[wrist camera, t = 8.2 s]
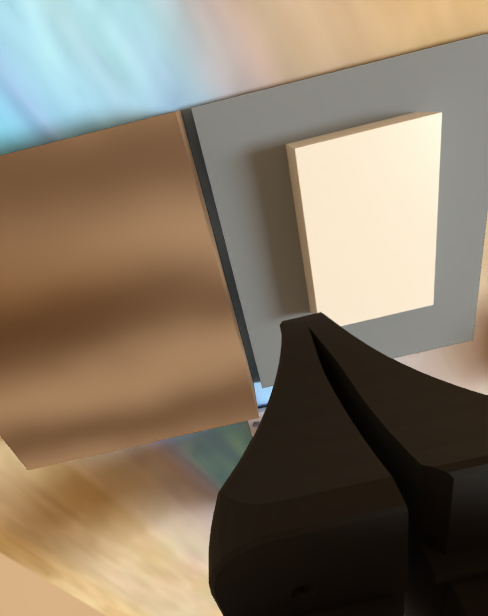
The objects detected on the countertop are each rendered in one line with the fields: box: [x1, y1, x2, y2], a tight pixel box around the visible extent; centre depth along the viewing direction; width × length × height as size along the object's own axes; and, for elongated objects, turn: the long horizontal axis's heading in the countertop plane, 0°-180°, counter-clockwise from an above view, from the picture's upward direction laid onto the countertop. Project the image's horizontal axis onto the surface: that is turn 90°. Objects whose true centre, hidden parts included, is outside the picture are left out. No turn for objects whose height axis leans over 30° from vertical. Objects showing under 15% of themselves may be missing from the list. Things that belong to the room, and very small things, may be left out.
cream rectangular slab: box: [286, 112, 442, 326], centre depth 18 cm, size 9×6×2 cm, turn 12°
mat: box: [191, 33, 488, 388], centre depth 19 cm, size 16×14×1 cm
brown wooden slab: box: [0, 111, 259, 470], centre depth 19 cm, size 16×14×3 cm
